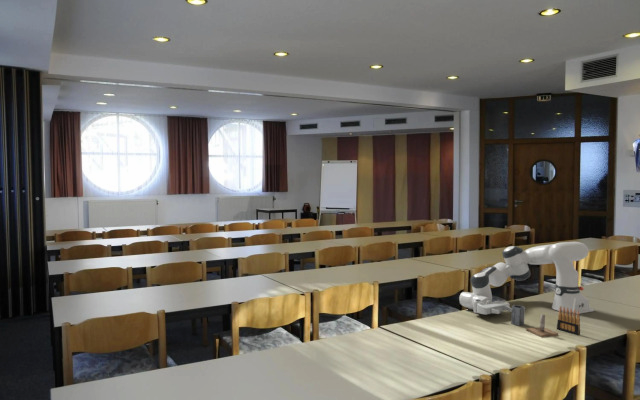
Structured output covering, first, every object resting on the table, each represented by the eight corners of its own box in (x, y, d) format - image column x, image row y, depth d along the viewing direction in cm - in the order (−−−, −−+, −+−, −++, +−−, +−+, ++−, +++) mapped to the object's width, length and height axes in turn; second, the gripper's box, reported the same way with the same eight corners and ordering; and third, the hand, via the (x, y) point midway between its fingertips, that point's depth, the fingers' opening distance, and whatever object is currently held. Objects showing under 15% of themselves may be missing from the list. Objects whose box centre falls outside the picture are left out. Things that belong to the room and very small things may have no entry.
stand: (542, 328, 248) (543, 311, 248) (557, 335, 239) (558, 317, 238) (526, 330, 245) (527, 312, 245) (540, 337, 236) (541, 318, 235)
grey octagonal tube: (518, 321, 260) (519, 304, 259) (526, 325, 254) (527, 307, 253) (508, 322, 258) (509, 305, 257) (516, 326, 252) (517, 308, 252)
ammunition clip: (556, 329, 248) (557, 305, 248) (558, 328, 249) (559, 305, 249) (578, 335, 240) (579, 311, 239) (580, 334, 241) (581, 310, 240)
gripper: (496, 308, 279) (517, 314, 267) (471, 313, 268) (492, 319, 256) (496, 296, 278) (518, 302, 267) (472, 301, 267) (493, 307, 256)
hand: (505, 311), depth 261 cm, fingers open, 8 cm apart
